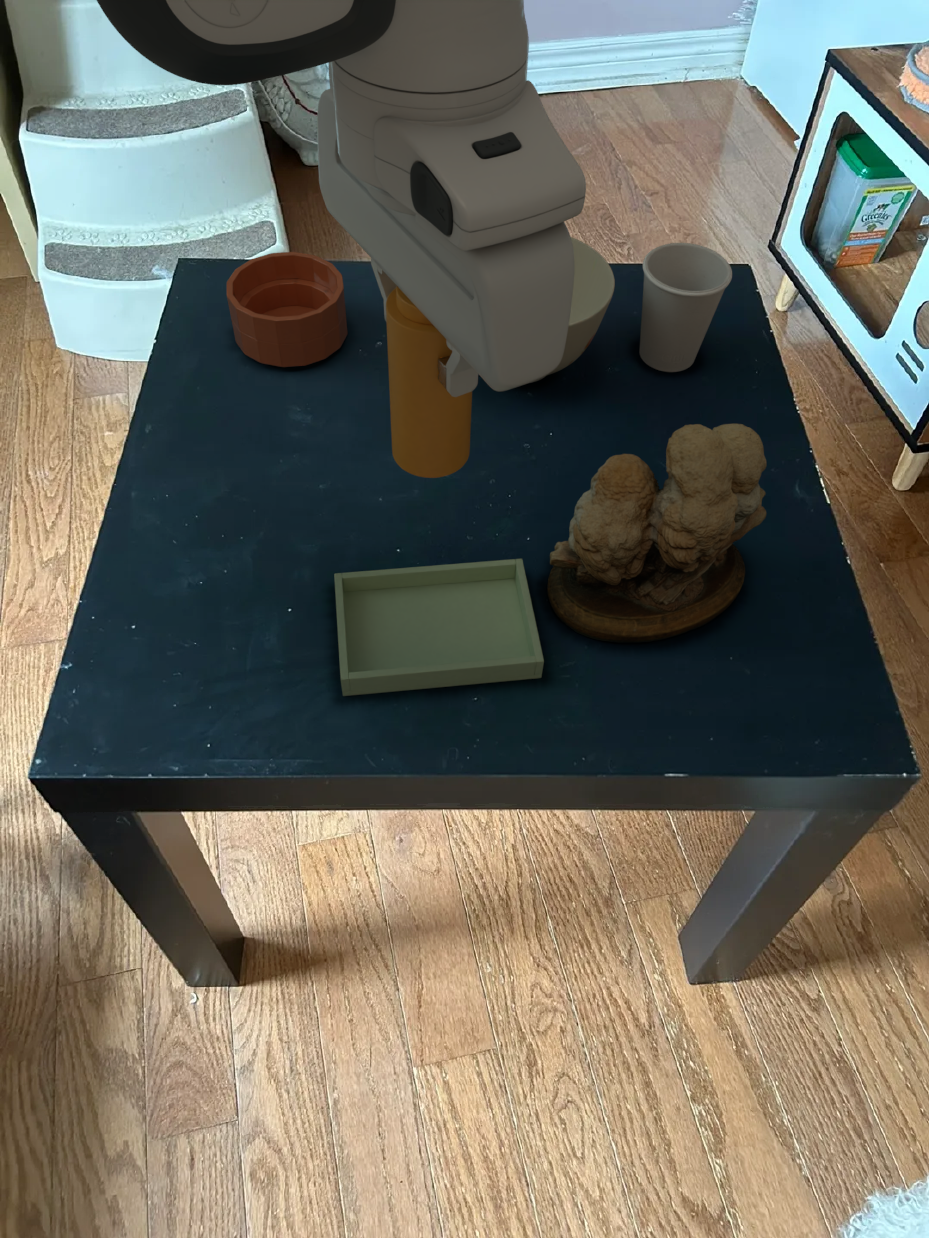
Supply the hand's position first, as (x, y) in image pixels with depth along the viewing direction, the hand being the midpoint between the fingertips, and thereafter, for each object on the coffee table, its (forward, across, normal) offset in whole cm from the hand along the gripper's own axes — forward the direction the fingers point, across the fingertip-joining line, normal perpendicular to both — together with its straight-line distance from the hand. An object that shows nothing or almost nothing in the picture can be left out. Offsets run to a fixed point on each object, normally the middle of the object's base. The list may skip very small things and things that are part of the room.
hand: (430, 356), depth 56 cm
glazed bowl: (+26, -39, +6) cm, 47 cm away
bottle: (+8, 0, 0) cm, 8 cm away
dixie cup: (+26, -18, +38) cm, 49 cm away
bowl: (+26, -24, +24) cm, 43 cm away
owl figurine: (+26, +5, +18) cm, 32 cm away
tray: (+26, +1, 0) cm, 26 cm away
